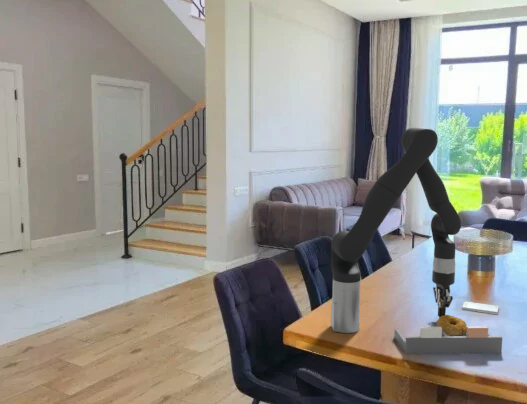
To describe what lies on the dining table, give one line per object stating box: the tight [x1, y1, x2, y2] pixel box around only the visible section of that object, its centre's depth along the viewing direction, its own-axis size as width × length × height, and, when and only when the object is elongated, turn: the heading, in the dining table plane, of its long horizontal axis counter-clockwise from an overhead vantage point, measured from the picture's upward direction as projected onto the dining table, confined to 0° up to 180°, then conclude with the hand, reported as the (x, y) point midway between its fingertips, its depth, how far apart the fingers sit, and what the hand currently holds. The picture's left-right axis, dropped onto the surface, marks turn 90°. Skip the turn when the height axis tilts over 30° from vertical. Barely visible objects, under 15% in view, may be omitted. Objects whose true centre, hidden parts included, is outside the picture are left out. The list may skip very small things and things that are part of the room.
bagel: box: [436, 314, 468, 336], centre depth 175 cm, size 10×11×5 cm
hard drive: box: [461, 301, 500, 316], centre depth 198 cm, size 2×8×12 cm
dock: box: [393, 326, 503, 355], centre depth 163 cm, size 29×13×8 cm, turn 91°
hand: (441, 316), depth 186 cm, fingers closed
